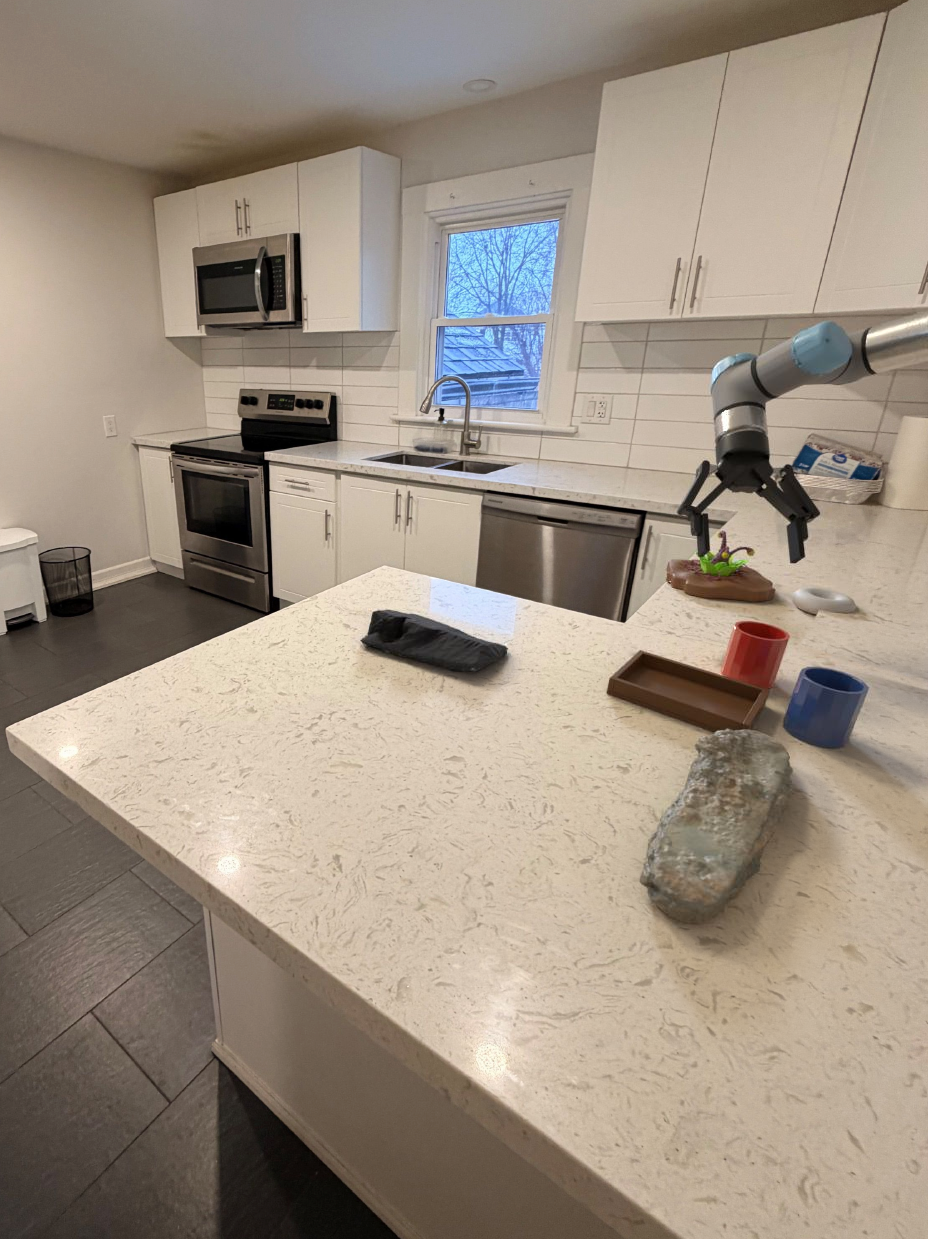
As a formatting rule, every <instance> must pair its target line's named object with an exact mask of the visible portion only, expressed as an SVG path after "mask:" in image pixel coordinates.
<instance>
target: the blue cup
mask: <svg viewBox="0 0 928 1239" xmlns="http://www.w3.org/2000/svg"><path fill="white" fill-rule="evenodd" d="M799 671H800V672H799V674H798V677H797V680H796V683H795V685H794V689H793V691H792V694H791V697H790V700H789V703H788V705H787V709H786V711H785V714H784V717H783V721H782V727H783V729H784V730H785V732H787V733H788V734H789V735H791V736H792V737H794V738H796V739H798V740H799V741H801V742H804V743H806V744H809V745H813V746H815V747H820V748H825V749H841V748H844V747H846V746H847V744H848V742H849V740H850V738H851V735H852V732H853V730H854V727H855V725H856V723H857V720H858V718H859V715H860V712H861V710H862V707H863V705H864V702H865V700H866V697H867V695H868V692H869V690H870V687H869V686H868V685H867V683H866V682H865V681H863V680H861V679H860V678H858V677H856V676H855V675H852V674H849V673H847V672H845V671H841V670H837V669H833V668H829V667H822V666H807V667H803V668H801V670H799Z"/></svg>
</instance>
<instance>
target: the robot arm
mask: <svg viewBox="0 0 928 1239" xmlns="http://www.w3.org/2000/svg"><path fill="white" fill-rule="evenodd" d="M925 362H928V309H925V310H922V311H919V312H915V313H913V314H910V315H905V316H903V317H899V318H896V319H892V320H889V321H886V322H882V323H879V324H877V325H873V326H871V327H866V328H863V329H859V330H856V331H853V332H849V333H847V332H846V331H845V329H844V328H843V327H842V326H841V325H838V323H837V322H836V321H833V320H825V321H822V322H819V323H817V324H816V325H813V326H811V327H809V328H805V329H803V330H802V331H800V332H798V333H797V334H796V335H795V336H792V337H790V338H789V339H787V340H785V341H784V342H782V343H780V344H778V345H776V346H775V347H773V348H771V349H770V350H768V351H765V352H764V353H762V354H760V355H759V356H758V355H756V354H754V353H749V352H741V353H737V354H736V355H734V356H733V355H729V356H726V357H725V358H723V359H722V360H720V361H719V362H717V364H716V365H715V366H714V368H713V369H712V372H711V386H710V395H711V399H712V410H713V432H714V444H715V447H714V448H715V451H714V452H715V463H716V464H711V462H710V461H709V460H707V459H704V460H703V461H702V462H701V463H700V464H699V465H698V467H697V468H696V470H695V478H694V480H693V482H692V484H691V486H690V487H689V489H688V491H687V493H686V495H685V497H684V498H683V500H682V501H681V503H680V505H679V507H678V508H677V511H676V514H677V515H678V516H686V520H687V521H688V522H689V523H690V526H689V527H690V534H691V536H692V537H696V546H697V547H696V548H697V553H698V556H697V558H699V557H704V556H705V557H706V556H707V553H708V552H710V551H711V540H710V522H709V513H706V512H704V511H705V510H706V509H707V508H708V507H709V506H710V505H711V504H712V503H713V502H715V501H716V500H717V498H719V497H720V496H721V495H722V494H723V493H724V492H725V491H727V490H729V491H731V493H735V494H736V493H745V494H753V493H755V494H756V495H757V496H758V497H759V498H763V499H764V500H766V501H767V503H769V504H770V505H771V506H772V507H773V509H775V510H776V511H777V512H778V513H779V514H781V515H782V516H783V517H784V518H785V519H786V520H787V521H788V522H789V523H788V524H787V525H786V535H787V537H786V538H787V546H788V556H789V563H790V564H797V563H799V562H800V561H802V560H803V559H804V558H806V552H805V542H806V541H807V540H808V539H809V530H808V528H809V527H808V524H810V523H811V522H812V521H813V522H814V520H815V519H816V518H818V517H819V516H821V511H820V510H819V508H818V507H817V505H816V504H815V502H814V501H813V500H812V498H811V497H810V495H809V494H808V493H807V491H806V490H805V488H804V487H803V486H802V484H801V483H800V482H799V480H798V478H797V477H796V475H795V472H794V468H793V465H792V464H789V463H787V464H785V465H783V466H782V467H773V466H772V464H771V463H770V457H771V452H770V440H769V436H768V435H769V430H768V420H767V410H766V407H767V406H766V403H768V402H770V401H772V400H774V399H777V398H779V397H781V396H783V395H786V394H788V393H789V392H792V391H794V390H796V389H798V388H800V387H802V386H811V385H812V386H815V385H816V386H817V385H832V386H842V385H847V384H851V383H855V382H858V381H860V380H862V379H863V378H867V377H871V376H874V375H877V374H881V373H885V372H889V371H893V370H897V369H901V368H906V367H909V366H913V365H917V364H921V363H925ZM713 474H714V476H715V477H716V478H717V479H718V480H719V481H720V483H719V484H718V485H717V486H716V487H715V488H714V489H712V491H710V493H708V494H707V495H706V496H705V498H703V499H702V501H700V502H699V503H698V504H697V505H696V506H695V505H693V503H694V502H695V500H696V498H697V496H698V494H699V493H700V491H701V489H702V487H703V486H704V484H705V482H706V481H707V479H708V478H711V476H712V475H713ZM772 477H773V478H772ZM764 485H765V488H764V487H763V486H764ZM778 485H779V487H778Z"/></svg>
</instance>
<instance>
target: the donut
mask: <svg viewBox="0 0 928 1239" xmlns="http://www.w3.org/2000/svg"><path fill="white" fill-rule="evenodd" d="M791 596H792V597H791V601H792V603H793V605H794V606H795V607H797V608H798V609H800V610H802V611H804V612H806V613H809V614H812V615H815V616H816V615H818V613H819V612H820V611H824V612H828V613H829V612H830V613H838V614H840V613H841V614H842V613H843V614H847V613H853V612H855V611H856V609H857V605H856V601H854V599H853V598H852V597H851V596H849V595H848V594H845V593H843V592H840V591H837V590H832V589H828V588H823V587H817V586H816V587H815V586H813V587H812V586H811V587H809V586H808V587H801V588H799V589H797V590H795V591H794V592H793V594H792V595H791Z"/></svg>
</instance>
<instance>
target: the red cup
mask: <svg viewBox="0 0 928 1239" xmlns="http://www.w3.org/2000/svg"><path fill="white" fill-rule="evenodd" d="M790 639H791V635H790V633H789V632H787V631H786V630H784V629H783V628H781V627H778V626H775V625H773V624H769V623H765V622H761V621H754V620H741V621H737V622H735V623H734V624H733V627H732V630H731V634H730V637H729V640H728V644H727V648H726V650H725V653H724V658H723V661H722V663H721V669H720V675H723V676H726V677H729V678H733V679H736V680H739V681H742V682H746V683H749V684H752V685H755V686H759V687H762V688H765V689H768V690H769V689H771V688H773V687H774V686H775V683H776V680H777V679H778V675H779V672H780V669H781V665H782V663H783V659H784V656H785V654H786V651H787V648H788V644H789V642H790Z"/></svg>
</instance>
